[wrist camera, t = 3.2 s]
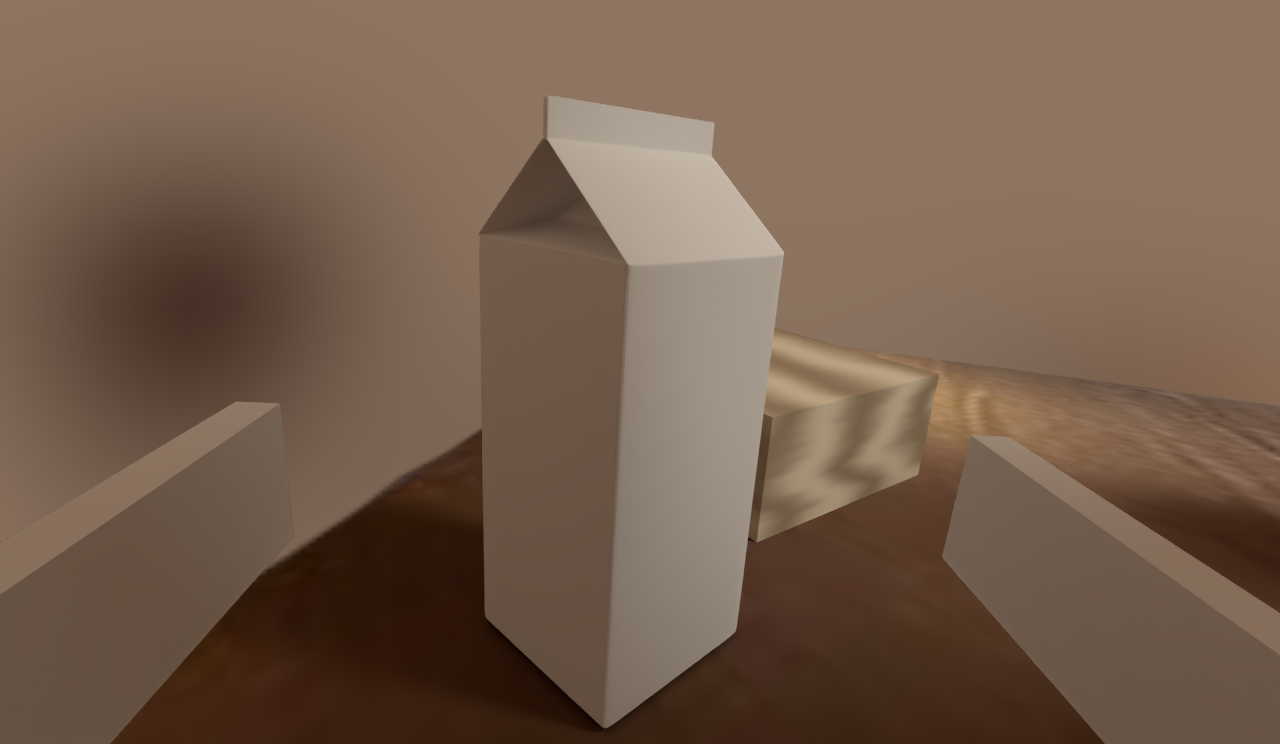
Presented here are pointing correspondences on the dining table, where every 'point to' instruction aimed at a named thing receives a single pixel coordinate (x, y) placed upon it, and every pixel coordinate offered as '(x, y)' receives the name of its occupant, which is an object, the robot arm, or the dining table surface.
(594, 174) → the milk carton
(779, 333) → the block
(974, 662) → the dining table surface
